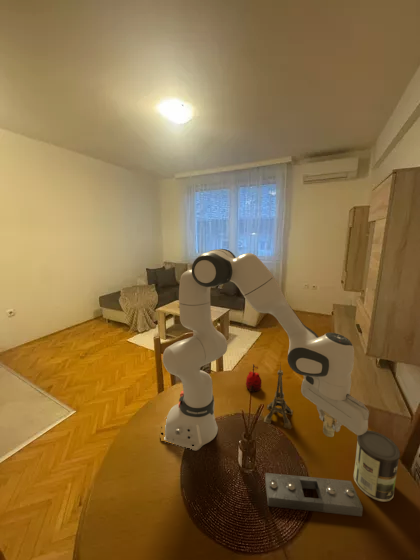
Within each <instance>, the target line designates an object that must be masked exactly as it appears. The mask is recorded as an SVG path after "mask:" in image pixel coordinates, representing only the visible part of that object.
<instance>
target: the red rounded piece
mask: <svg viewBox="0 0 420 560" xmlns="http://www.w3.org/2000/svg"><path fill="white" fill-rule="evenodd" d="M255 368H256V369H259V367H258V366H255V364H254V363H252V371H249V372H248V374H247V376H246V379H245V380H246V382H245V386H246V388H247V389H248V391H249V392H259V391H260V390H261V388H262V378H261V376H260V373H259V372H255Z"/></svg>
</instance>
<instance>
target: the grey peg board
mask: <svg viewBox="0 0 420 560" xmlns="http://www.w3.org/2000/svg"><path fill="white" fill-rule="evenodd" d="M264 479H265V480H264V481H265V490H266V498H267V506H268V507H274V508H275V507H276V508H284V509H292V510H299V511H300V510H301V511H309V512H310V511H311V512H318V513H319V512H320V513H326V514H327V513H328V514H336V515H344V516H345V515H346V516H354V517H355V516H356V517H363V512H364V511H363V509H364V508H363V505H362V503H361V501H360V500H361V499H360V498H359V496H358V494H357V491H356V489H355V487H354V485H353V482H352V480H344V479H335V478H334V479H333V478H323V477H313V476H302V475H291V474H282V473H273V472H272V473H271V472H265V477H264ZM303 489H307V490H315V491H316V494H317V497H318V498H316V497H305V495H304V490H303Z"/></svg>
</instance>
